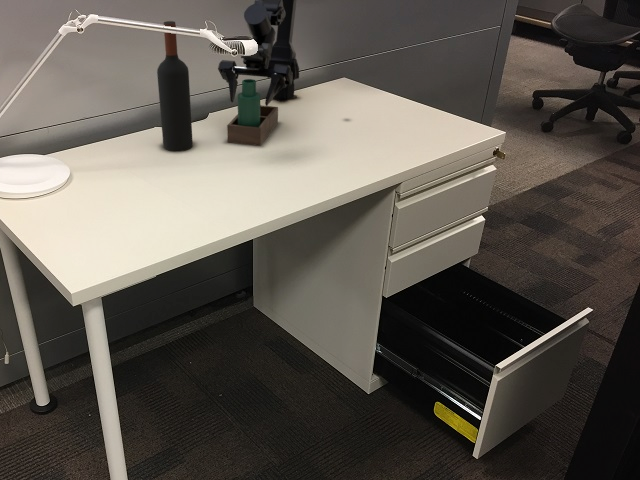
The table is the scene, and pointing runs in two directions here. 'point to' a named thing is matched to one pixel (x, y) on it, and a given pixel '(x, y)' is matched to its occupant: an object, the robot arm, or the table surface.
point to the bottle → (249, 104)
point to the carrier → (253, 128)
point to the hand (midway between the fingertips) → (248, 103)
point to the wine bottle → (174, 97)
